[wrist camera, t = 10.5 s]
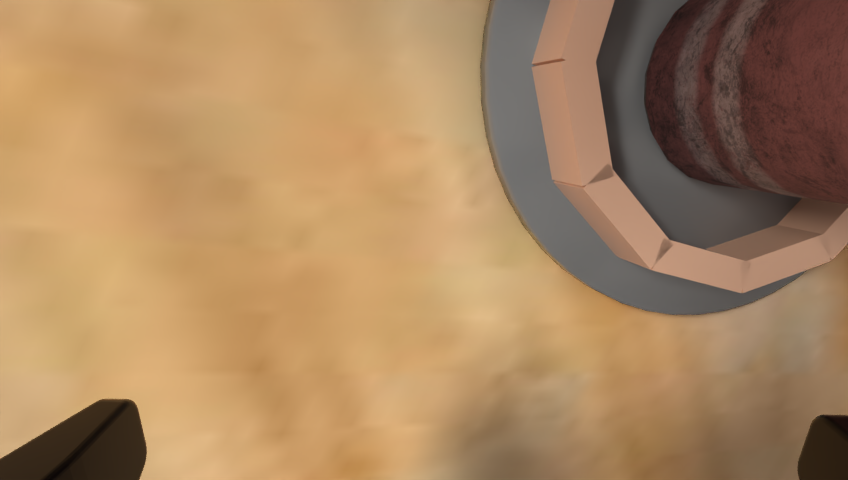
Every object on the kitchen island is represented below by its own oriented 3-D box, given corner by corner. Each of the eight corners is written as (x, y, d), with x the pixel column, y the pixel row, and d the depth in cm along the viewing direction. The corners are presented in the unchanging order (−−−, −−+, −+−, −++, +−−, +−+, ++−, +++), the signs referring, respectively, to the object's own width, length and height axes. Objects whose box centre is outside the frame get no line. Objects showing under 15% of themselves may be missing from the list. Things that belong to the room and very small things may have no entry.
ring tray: (673, 394, 22) (724, 428, 20) (370, 60, 17) (388, 51, 15) (958, 87, 23) (1042, 84, 21) (750, -320, 18) (828, -390, 15)
